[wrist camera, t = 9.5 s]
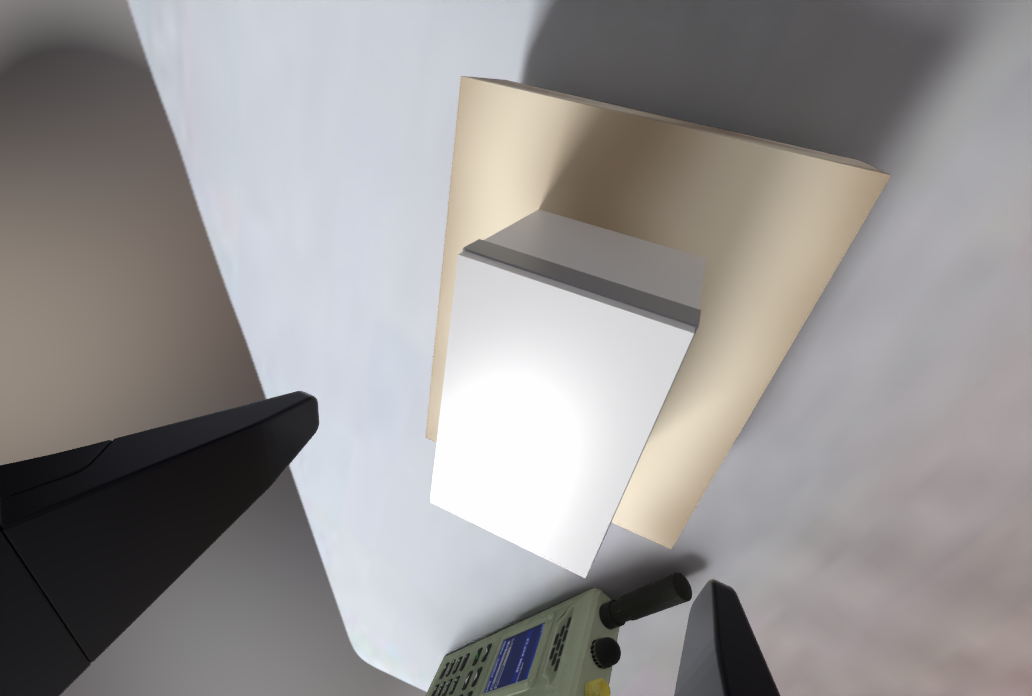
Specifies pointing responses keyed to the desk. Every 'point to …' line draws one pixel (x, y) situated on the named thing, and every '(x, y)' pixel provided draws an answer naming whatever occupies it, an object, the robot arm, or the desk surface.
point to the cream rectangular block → (672, 223)
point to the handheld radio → (555, 647)
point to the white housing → (558, 378)
